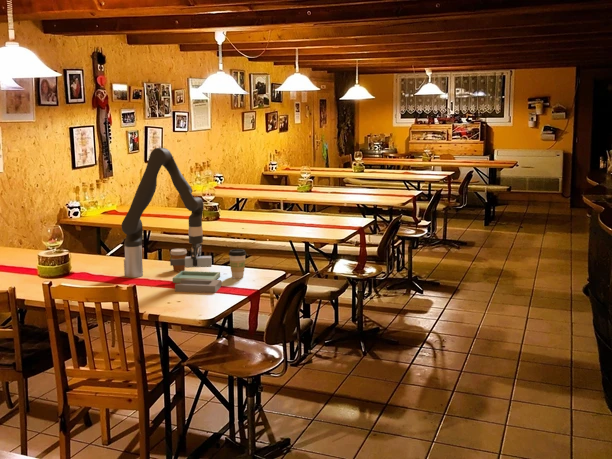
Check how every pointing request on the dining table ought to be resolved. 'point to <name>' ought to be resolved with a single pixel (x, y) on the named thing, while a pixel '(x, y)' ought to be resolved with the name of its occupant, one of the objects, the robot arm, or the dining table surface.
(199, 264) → the tall grey bar
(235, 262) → the coffee cup
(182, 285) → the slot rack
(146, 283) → the dining table surface
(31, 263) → the dining table surface
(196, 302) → the dining table surface
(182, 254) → the disposable coffee cup
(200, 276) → the tray
